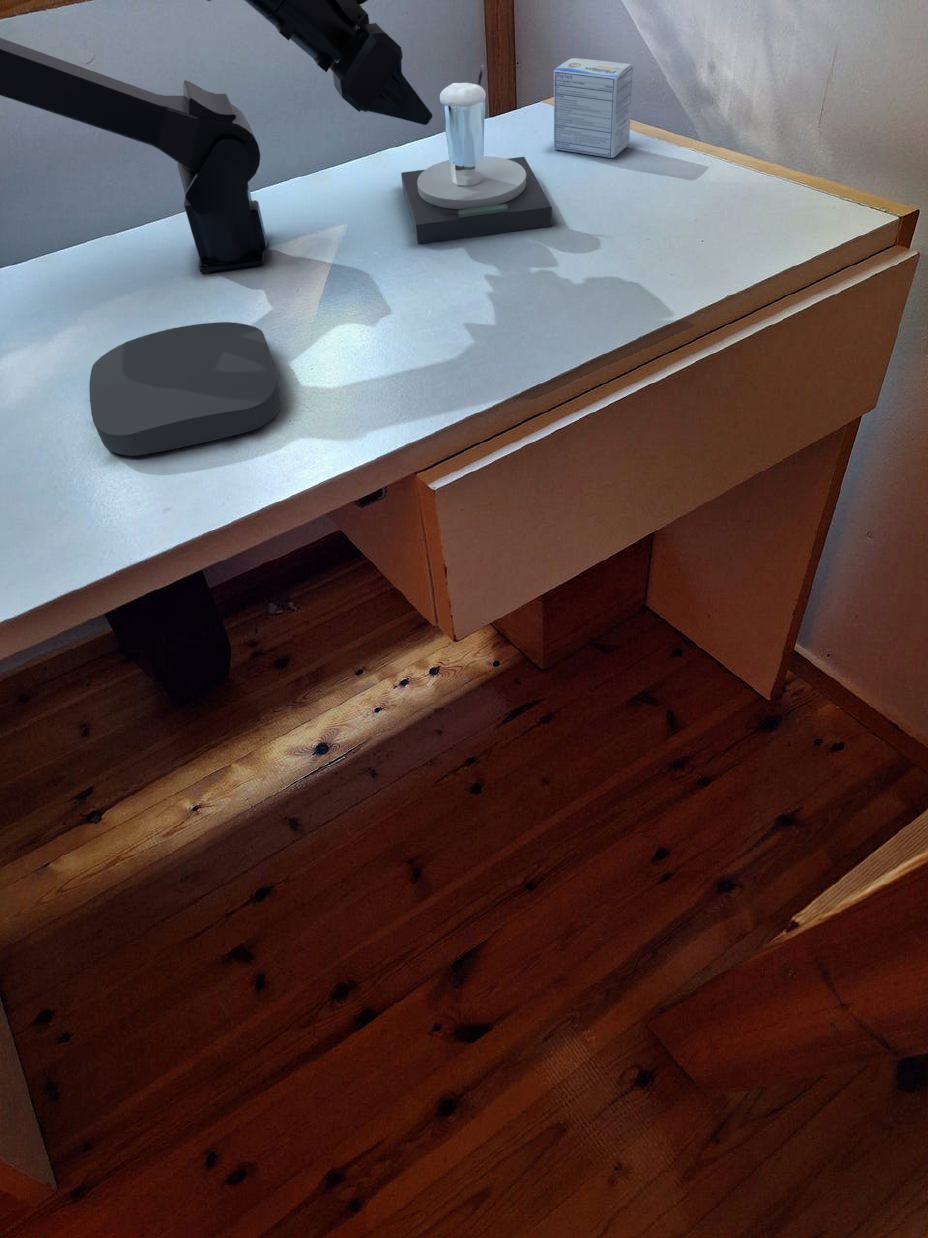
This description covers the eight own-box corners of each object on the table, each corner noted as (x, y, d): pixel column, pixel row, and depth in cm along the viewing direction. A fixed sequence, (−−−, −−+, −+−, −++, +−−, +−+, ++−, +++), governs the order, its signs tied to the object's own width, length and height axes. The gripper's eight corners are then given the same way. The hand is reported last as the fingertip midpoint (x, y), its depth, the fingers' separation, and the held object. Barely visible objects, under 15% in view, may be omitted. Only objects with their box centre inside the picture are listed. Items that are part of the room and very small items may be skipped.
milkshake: (503, 175, 95) (500, 68, 88) (468, 192, 93) (462, 84, 86) (472, 165, 98) (466, 61, 90) (437, 182, 95) (428, 76, 88)
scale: (417, 244, 92) (414, 214, 90) (402, 190, 102) (399, 162, 100) (551, 226, 93) (552, 196, 91) (524, 174, 103) (524, 146, 100)
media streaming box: (102, 469, 69) (88, 436, 67) (100, 372, 79) (88, 341, 77) (289, 427, 71) (281, 395, 69) (265, 338, 81) (257, 307, 79)
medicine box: (629, 146, 106) (635, 63, 100) (612, 160, 104) (617, 75, 97) (570, 137, 109) (571, 55, 103) (552, 150, 107) (552, 67, 101)
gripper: (361, -86, 69) (500, 55, 79) (314, -120, 82) (440, 6, 92) (281, 47, 74) (423, 165, 84) (248, -4, 86) (375, 104, 96)
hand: (416, 105), depth 89 cm, fingers open, 9 cm apart
